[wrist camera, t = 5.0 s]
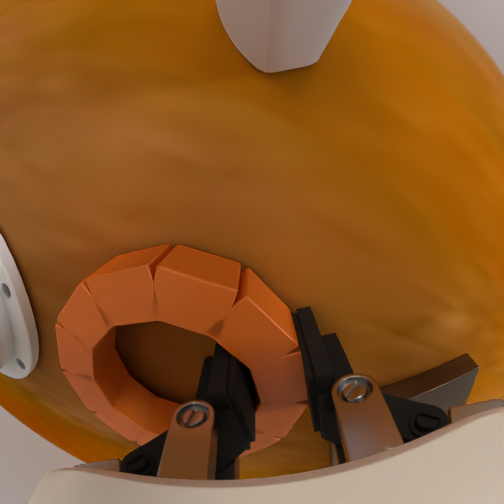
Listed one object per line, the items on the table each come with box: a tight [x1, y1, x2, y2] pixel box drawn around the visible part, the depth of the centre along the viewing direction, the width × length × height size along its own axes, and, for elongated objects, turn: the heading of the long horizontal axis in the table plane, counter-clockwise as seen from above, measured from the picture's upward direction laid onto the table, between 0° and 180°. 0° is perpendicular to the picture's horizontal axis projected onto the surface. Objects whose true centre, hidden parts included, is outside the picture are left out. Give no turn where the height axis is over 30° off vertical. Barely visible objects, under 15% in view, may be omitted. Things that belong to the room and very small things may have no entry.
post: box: [329, 354, 479, 467], centre depth 8 cm, size 9×9×10 cm
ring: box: [55, 243, 308, 457], centre depth 10 cm, size 10×10×2 cm
